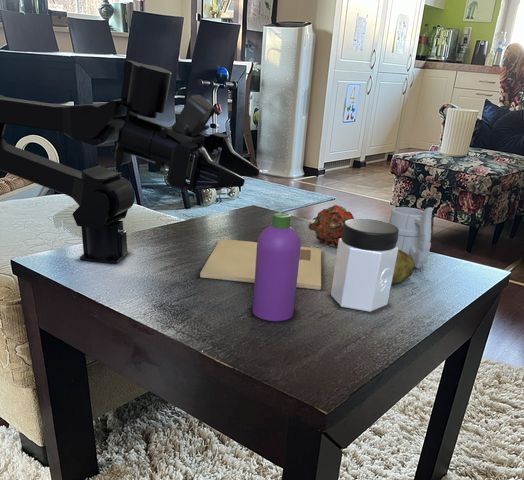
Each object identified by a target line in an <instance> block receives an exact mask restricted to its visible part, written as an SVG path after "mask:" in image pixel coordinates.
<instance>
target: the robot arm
mask: <svg viewBox="0 0 524 480" xmlns="http://www.w3.org/2000/svg"><path fill="white" fill-rule="evenodd" d="M122 71H123V72H122V73H123V74H122V75H123V76H122V77H123V78H122V85H121V93H120V98H119V99H110V100H109V101H108V102H100V103H87V104H75V105H66V104H65V105H64V104H57V103H49V102H44V101H35V100H27V99H22V98H21V99H20V98H14V97H7V96H5V95H2V94H0V171H2V172H4V173H7V174H9V175H12V176H15V177H16V178H17V177H18V178H20V179H23V180H25V181H28V182H31V183H33V184H36V185H38V186H40V187H43V188H46V189H49V190H50V191H51V190H52V191H55V192H57V193H60V194H62V195H65V196H67V197H70V198H71V199H73V201H74V202H75V203H76V204H77V205H78V207H77V208H76V209H75V210H74V211H73V212H72V217H73V220H74V222H75V225H76V226H77V227H80V228H81V238H82V239H81V240H82V250H83V254H81V255H80V256H79V260H80V261H86V262H94V263H104V264H105V263H106V264H118V263H119V262H120V261H121V260H122V259H123V258H124V257H125V256H127V255H128V253H129V249H128V238H127V230H126V229H124V221H123V219H126V217H127V214H128V210H129V209H131V208H132V207H133V205H134V204H135V201H136V193H135V189H134V186H132V183H131V181H129V180H128V179H127V178H126V177H123V176H122V175H123V172H116V171H112V170H110V169H108V168H106V167H105V166H103V165H96V166H93V167H90V168H86V169H83V170H78V169H76V168H73V167H70V166H67V165H65V164H62V163H60V162H57V161H54V160H52V159H50V158H47V157H44V156H41V155H39V154H36V153H33V152H30V151H28V150H26V149H23V148H21V147H17V146H15V145H12V144H10V143H8V142H7V141H6V140H5V139H4V138H3V136H4V135H5V132H6V128H7V125H12V126H18V127H24V128H32V129H38V130H45V131H52V132H58V133H61V134H64V135H66V136H67V137H69V138H71V139H73V140H75V141H79V142H81V143H84V144H87V145H88V146H89V145H90V146H99V145H104V144H108V143H114V142H116V141H117V142H116V145H115V147H113V148H112V149H111V153H112V154H113V156H114V159H115V161H116V163H117V165H118V166H122V165H125V164H129V163H131V161H132V156H133V157H136V158H139V159H142V160H145V161H148V162H150V163H153V164H154V166H153V167H154V168H157V169H159V170H162V169H164V168H167V169H168V170H167V175H166V182H167V183H168V185H169V187H170V188H171V189H172V190H173V189H174V190H177V191H179V192H182V193H184V192H186V191H187V190H188V192H194V191H203V190H211V189H212V190H214V189H225V188H226V189H227V188H239V187H244V185H245V183H246V182H245V181H246V179H245V178H244V177H258V176H259V174H260V168H258V167H257V166H256V165H255V164H253V163H251V162H250V161H249V160H247V159H246V158H244V157H243V156H241V155H240V154H239V153H237V152H236V151H235V150H234V149H233V146H232V140H231V139H230V138H229V135H228V134H225V133H222V132H219V131H217V132H213V133H211V134H209V135H207V136H206V137H205V135H206V134H205V133H203V132H202V131H203V130H204V129H205V127H206V125H207V124H208V122H209V121H210V119H211V118H212V117H213V116H214V115H215V113H216V112H217V108H216V107H215V106H214V105H213V104H212V103H211V100H210V99H206V98H204V96H202V95H201V94H193V95H191V96H190V97H188V99H187V101H186V102H185V104H184V105H183V108H182V109H181V111H180V113H179V114H178V116H177V118H176V120H175V122H174V124H172V125H171V126H165V125H163V124H160V123H158V122H155V121H153V120H149V119H157V118H158V117H157V116H158V114H164V113H165V112H166V106H167V100H168V94H169V89H170V83H171V78H172V72H171V71H170V70H169V69H166V68H164V67H161V66H157V65H149V64H145V63H141V62H136V61H134V60H129V59H128V60H124V61H123V68H122ZM140 116H141V117H140ZM144 117H145V118H144ZM147 118H149V119H147ZM186 180H187V181H189V182H187V181H186Z"/></svg>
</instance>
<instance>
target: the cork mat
mask: <svg viewBox="0 0 524 480" xmlns="http://www.w3.org/2000/svg"><path fill="white" fill-rule="evenodd" d="M256 252H257V241H249V240H248V241H247V240H238V239H227V238H219V240H218V242H217V243H216V246H215V247H214V249H213V250H212V252H211V254H210V256H209V257H208V259H207V260H206V262H205V264H204V265H203V267H202V269H201V271H200V272H199V277H200V278H204V279H214V280H223V281H233V282H243V283H252V284H254V281H255V267H256ZM296 288H301V289H308V290H309V289H310V290H318V291H319V290H322V248H318V247H308V246H301V249H300V258H299V267H298V276H297V285H296Z"/></svg>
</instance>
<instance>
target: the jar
mask: <svg viewBox="0 0 524 480" xmlns="http://www.w3.org/2000/svg"><path fill="white" fill-rule="evenodd" d="M398 233H399V229H398V228H397V227H396V226H394V225H392V224H390V223H389V222H387V221H384V220H378V219H372V218H371V219H370V218H354V219H351V220H347V221H346V222H345V223H344V226H343V233H342V238H340V239H339V241H338V246H337V247H336V248H337V249H336V255H335V262H334V270H333V276H332V283H331V291H330V296H331V298H333V299H334V300H335V302H336V303H337V304H338V305H339V306H340V307H341V308H346V309H350V310H357V311H364V312H368V313H371V312H373V311H376V310H378V309H380V308H383V307H386V306H387V305H388V303H389V297H390V293H391V292H390V291H391V289H392V284H391V283H392V278H393V273H394V268H395V263H396V258H397V253H398V247H397V246H396V243H397V241H398Z"/></svg>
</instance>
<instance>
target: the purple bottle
mask: <svg viewBox="0 0 524 480" xmlns="http://www.w3.org/2000/svg"><path fill="white" fill-rule="evenodd" d="M290 225H291V214H289V213H286V212H274V213H272V219H271V224H270V225H269V226H267V227H265V228H264V229H263V230H262V231H261V232H260V234H259V235H258V239H257V241H256V242H257V252H256V267H255V281H254V283H253V295H252V310H251V311H252V314H253V315H254V316H255V317H257V318H259V319H261V320H265V321H269V322H283V321H287V320H290V319H291V318H292V317H293V316H294V312H295V303H296V294H297V287H296V285H297V276H298V267H299V258H300V249H301V247H302V245H301V244H302V243H301V239H300V236H299V235H298V232H297V231H296V230H295V229H294V228H292V227H291V226H290Z"/></svg>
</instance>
